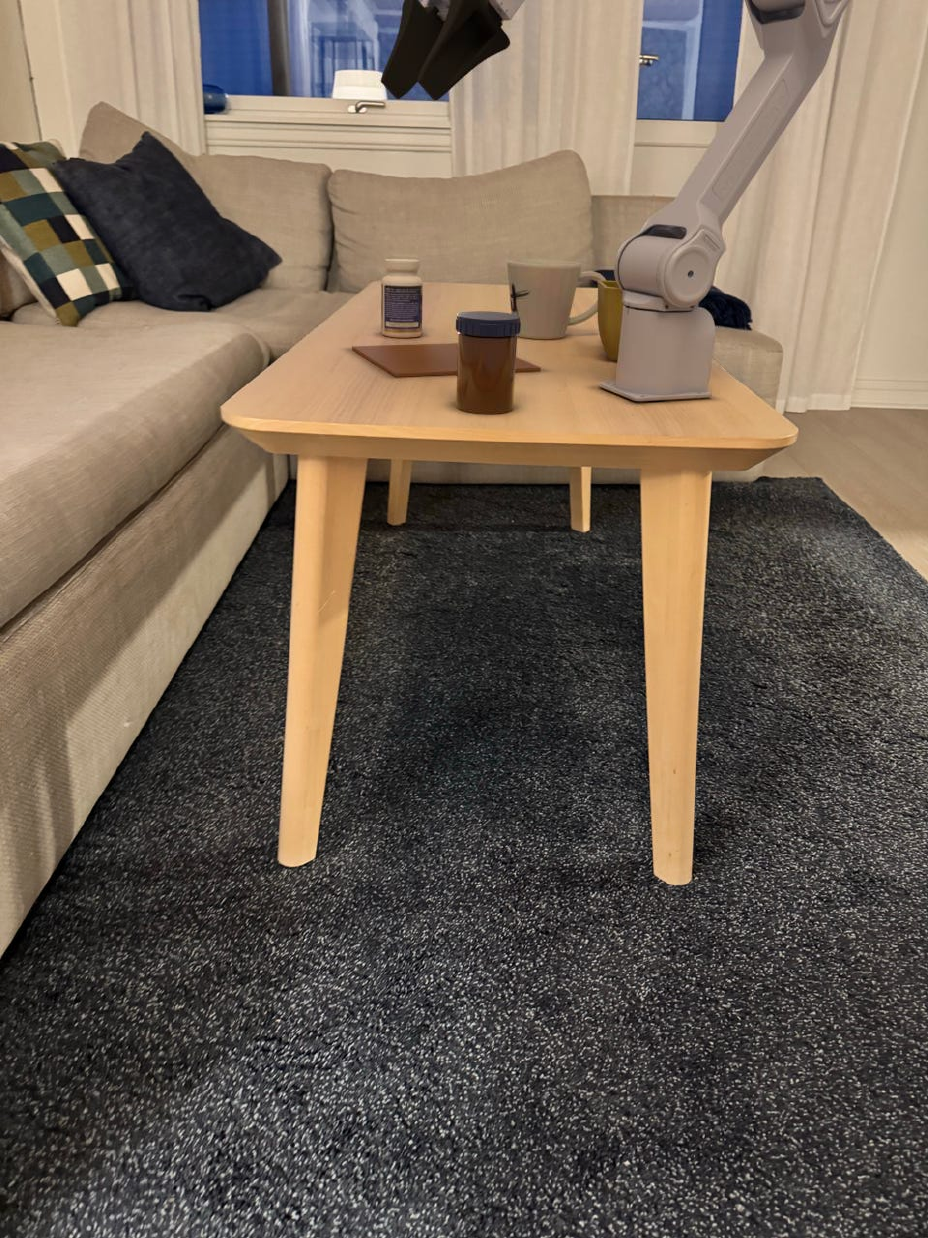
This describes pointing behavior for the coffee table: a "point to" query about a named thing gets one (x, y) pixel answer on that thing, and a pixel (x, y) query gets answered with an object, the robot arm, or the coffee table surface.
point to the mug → (546, 295)
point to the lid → (488, 323)
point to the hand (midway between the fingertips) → (407, 90)
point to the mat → (421, 359)
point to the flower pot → (610, 316)
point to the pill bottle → (401, 299)
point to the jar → (486, 373)
